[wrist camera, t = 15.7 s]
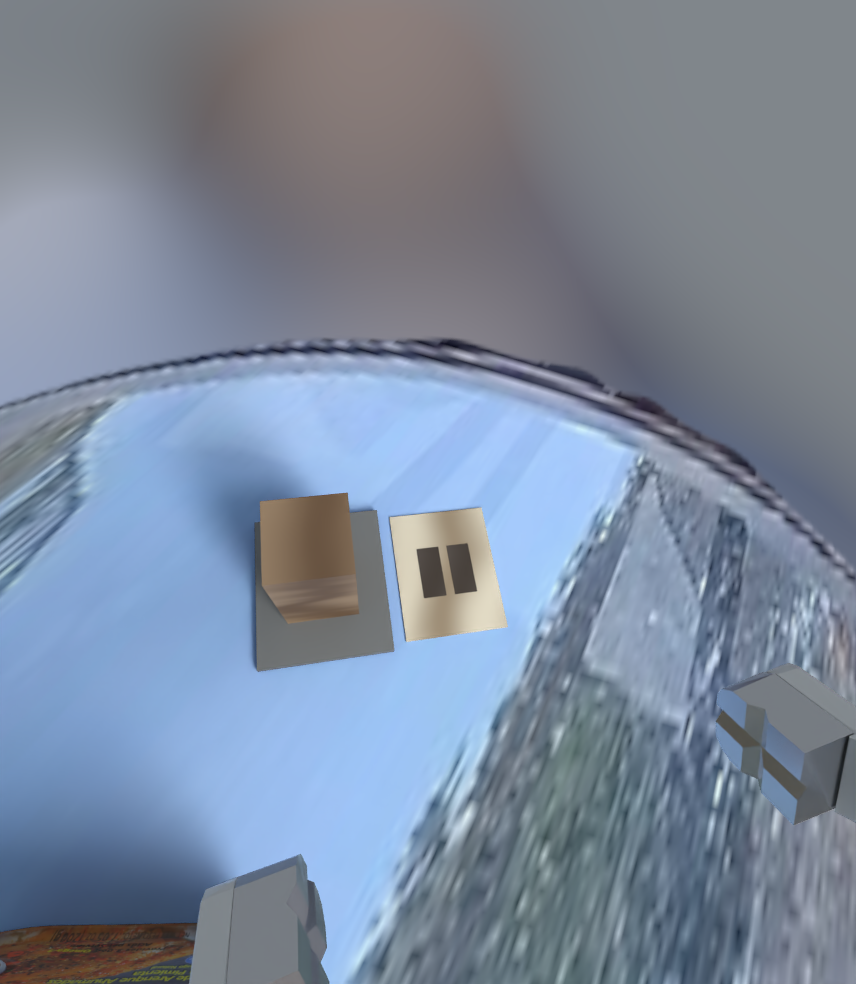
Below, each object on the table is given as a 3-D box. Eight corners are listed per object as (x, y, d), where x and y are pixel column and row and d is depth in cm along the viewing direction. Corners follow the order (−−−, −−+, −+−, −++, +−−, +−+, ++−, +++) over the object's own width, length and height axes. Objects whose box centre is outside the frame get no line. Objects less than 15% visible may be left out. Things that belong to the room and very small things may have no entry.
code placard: (406, 642, 34) (406, 641, 34) (389, 519, 38) (389, 517, 37) (506, 628, 35) (507, 626, 35) (480, 509, 39) (481, 507, 39)
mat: (258, 671, 32) (256, 670, 32) (256, 525, 36) (254, 522, 36) (394, 651, 33) (394, 650, 33) (376, 512, 38) (376, 510, 37)
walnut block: (288, 623, 33) (261, 585, 25) (285, 556, 35) (260, 501, 27) (359, 613, 34) (356, 574, 26) (352, 548, 36) (347, 492, 28)
